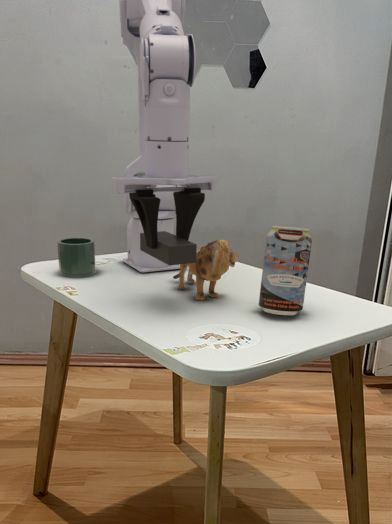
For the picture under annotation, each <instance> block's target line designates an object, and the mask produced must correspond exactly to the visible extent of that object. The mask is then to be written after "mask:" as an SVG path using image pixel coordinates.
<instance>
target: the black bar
mask: <svg viewBox="0 0 392 524" xmlns="http://www.w3.org/2000/svg"><path fill="white" fill-rule="evenodd" d="M157 234H158V241H157V249H151V248H149V247H147V245H146V239H145V235H144V233H140V250H141V251H143V252H145V253H147V254H149V255H150V256H152V257H154V258H156V259H158V260H160V261H162V262H164V263H165V264H167V265H180V264H189V263H196V252H197V247H198V245H197V243H195V242H192V241H190V240H185V239H183V238H180V237H178V236H176V234H174V235H173V234H171V233H169V232H166V231H160V232H157Z"/></svg>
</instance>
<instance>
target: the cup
mask: <svg viewBox="0 0 392 524" xmlns="http://www.w3.org/2000/svg"><path fill="white" fill-rule="evenodd" d="M95 242H96V241H95V240H94V239H92V238H90V237H89V238H87V237H67V238H61V239H57V242H56V243H57V244H56V245H57V257H58V270H59V274H60V276H62V277H66V278H86V277H87V278H88V277H92V276H94V275H95V274H96V273H97V272H96V270H97V265H96V264H97V263H96V245H95Z"/></svg>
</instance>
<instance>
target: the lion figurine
mask: <svg viewBox="0 0 392 524" xmlns="http://www.w3.org/2000/svg"><path fill="white" fill-rule="evenodd" d="M239 257H240V255H239V254H238V253H236V252H234V251H233V249H231V247H230V246H229V240H225V239H217V240H213V241H211V242H208V243H206V245H203V246H201V247H200V248H199V247H198V246H197V252H196V263H189V264H179V265H180V269H179V272H178V273H177V274H175V275H173V276H172V279H174V280H177V279H179V283H178V286H177V289H178V290H185V289H186V285H185V279H186V280H187V283H188V284H195V283H196V300H198V301H204V300H205V299H206V298H205V297H206V296H205V292H204V284H205V283H204V282H209V285H208V293H207V294H208V296H209V297H211V298H217V297H218V296H219V293H218V292H216V291H215V287H216V285H217V281H219V280H221V278H222V276H223V275H225V274H226V273H227V272H228V271H229V270H230V268H235V266H236V263H237V262H238V261H239ZM187 268H188V272H187ZM186 272H187V277H186V278H185V275H186ZM193 276H195V279H194V277H193ZM195 281H196V282H195Z"/></svg>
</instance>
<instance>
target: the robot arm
mask: <svg viewBox="0 0 392 524" xmlns="http://www.w3.org/2000/svg"><path fill="white" fill-rule="evenodd" d="M118 2H119V3H118V4H119V22H120V37H121V38H122V44H123V45H124V46H126V47H127V48H129V49H130V50H132V51H133V54H134V59H135V62H136V66H137V67H136V68H137V91H138V92H137V94H138V95H137V97H138V99H137V100H138V134H139V135H138V136H139V138H138V139H139V141H138V142H139V156H138V157H137V158H135V159H134V160H133V161H132V162H130V163H129V164H128V165H127V166H126V167H125V169H124V176H112V177H111V189H112V193H113V194H116V195H123V198H124V199H123V200H124V211H125V212H126V213H127V215H131V218H130V219H129V221H128V223H127V226H126V245H127V252H126V253H127V258H122V261H123V263H125V264H127V265H128V266H130V267H131V268H133V269H134V270H136V271H138V272H140V273H148V272H149V273H150V272H151V273H152V272H160V271H161V272H163V271H170V270H171V271H172V270H180V264H179V265H167V264H165V263H164V262H162V261H160V260H158V259H156V258H154V257H152V256H150V255H149V254H147V253H145V252H143V251H141V250H140V233H144V235H145V239H146V245H147V247H149V248H151V249H157V241H158V234H157V232H160V231H166V232H169V233H171V234H173V235H176V236H178V237H180V238H183V239H185V240H188V241H190V240H189V239H190V235H191V231H192V229H193V225H194V222H195V220H196V218H197V216H198V213H199V211H200V210H201V207H202V206H203V204H204V202H205V199H206V194H205V193H204V192H202V191H210V192H211V191H212V192H213V191H214V192H215V191H219V175H217V174H216V175H215V174H190V173H189V172H190V122H191V121H190V118H191V117H190V115H191V113H190V111H191V110H190V109H191V88H192V87H193V85H194V80H195V75H196V67H197V51H196V44H195V39H194V35H193V34H192V33H186V34H185V31H184V28H183V26H184V23H185V16H186V0H119V1H118ZM175 219H176V221H174V220H175ZM174 224H175V225H174ZM174 226H175V227H174ZM174 228H175V231H174Z"/></svg>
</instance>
